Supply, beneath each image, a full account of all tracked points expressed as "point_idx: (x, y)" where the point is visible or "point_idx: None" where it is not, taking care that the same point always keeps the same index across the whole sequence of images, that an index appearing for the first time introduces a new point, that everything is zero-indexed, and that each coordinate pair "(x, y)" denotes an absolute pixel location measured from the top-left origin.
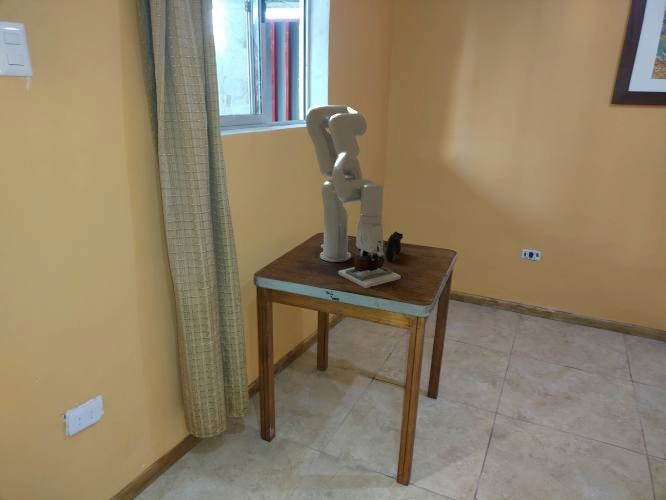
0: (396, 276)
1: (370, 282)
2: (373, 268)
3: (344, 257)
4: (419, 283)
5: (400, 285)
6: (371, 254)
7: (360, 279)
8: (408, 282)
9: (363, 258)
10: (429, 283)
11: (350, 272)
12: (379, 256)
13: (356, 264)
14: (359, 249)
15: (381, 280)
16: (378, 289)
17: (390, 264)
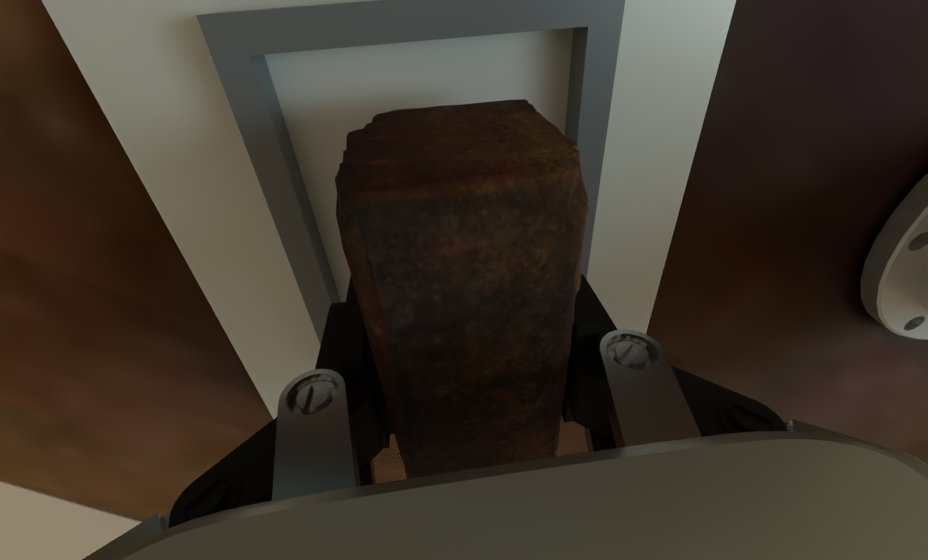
0: (266, 402)
1: (138, 111)
2: (331, 305)
3: (919, 257)
4: (156, 459)
5: (129, 355)
6: (312, 481)
7: (232, 11)
8: (191, 419)
9: (422, 296)
10: (146, 495)
11: (517, 5)
12: (108, 545)
13: (488, 126)
14: (754, 415)
15: (188, 260)
16: (12, 124)
17: (557, 450)
